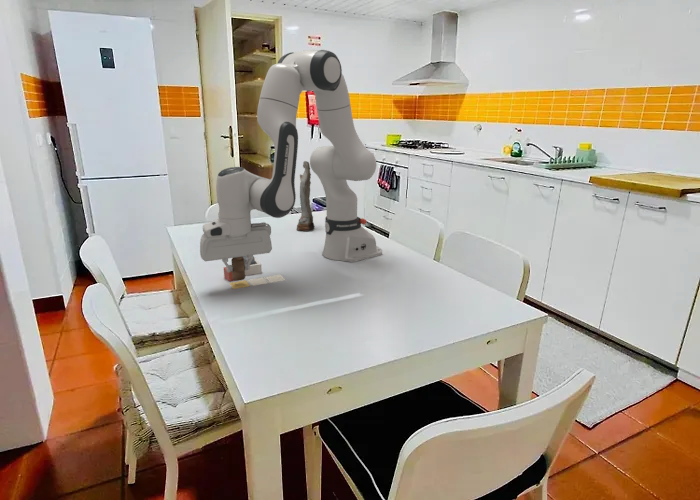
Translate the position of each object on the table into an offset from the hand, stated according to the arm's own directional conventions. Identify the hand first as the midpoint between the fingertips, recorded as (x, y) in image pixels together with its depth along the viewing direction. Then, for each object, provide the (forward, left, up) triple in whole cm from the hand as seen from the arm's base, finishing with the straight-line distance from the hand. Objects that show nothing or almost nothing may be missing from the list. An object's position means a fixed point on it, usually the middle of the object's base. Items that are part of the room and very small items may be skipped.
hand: (238, 270), depth 125 cm
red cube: (+1, -6, -5) cm, 8 cm away
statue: (-41, -52, -6) cm, 67 cm away
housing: (-5, -10, -5) cm, 12 cm away
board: (-6, -5, -6) cm, 10 cm away
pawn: (0, 0, -3) cm, 3 cm away
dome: (-5, -10, -4) cm, 12 cm away
